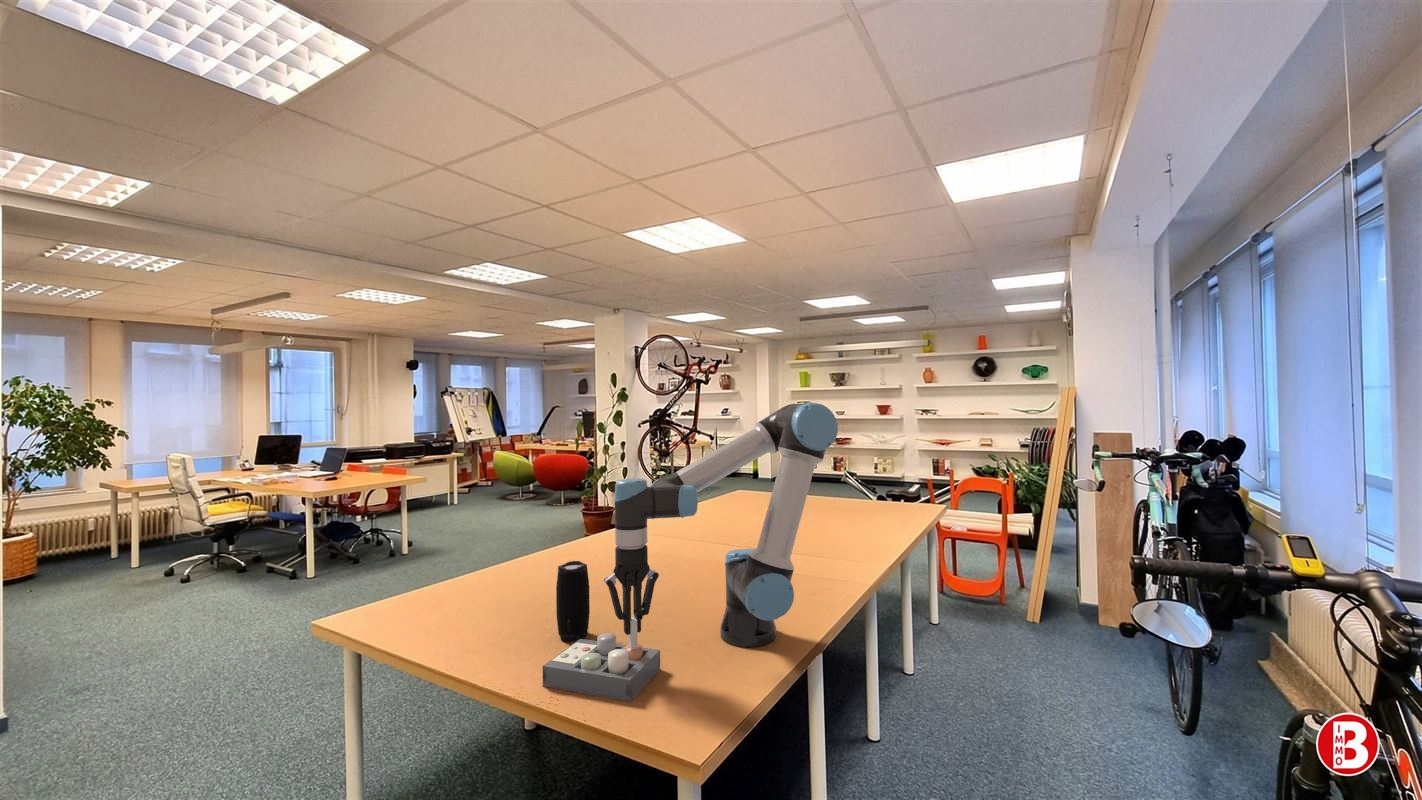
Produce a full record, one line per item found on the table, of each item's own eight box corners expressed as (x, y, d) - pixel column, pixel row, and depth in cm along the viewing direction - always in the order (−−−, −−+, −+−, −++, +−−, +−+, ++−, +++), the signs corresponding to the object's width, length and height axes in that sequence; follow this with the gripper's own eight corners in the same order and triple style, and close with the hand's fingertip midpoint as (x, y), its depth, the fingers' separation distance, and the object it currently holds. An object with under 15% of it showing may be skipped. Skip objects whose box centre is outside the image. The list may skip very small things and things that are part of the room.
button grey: (619, 653, 128) (619, 634, 128) (610, 661, 124) (610, 641, 124) (603, 651, 129) (603, 632, 129) (593, 659, 125) (593, 639, 125)
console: (660, 669, 126) (659, 648, 126) (630, 701, 112) (630, 678, 112) (580, 656, 133) (580, 637, 133) (542, 686, 119) (542, 664, 119)
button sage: (604, 674, 121) (604, 654, 121) (594, 683, 117) (594, 662, 117) (587, 671, 122) (587, 651, 123) (577, 680, 118) (576, 660, 118)
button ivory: (632, 670, 119) (631, 650, 119) (622, 680, 115) (622, 659, 115) (614, 668, 120) (614, 648, 120) (604, 677, 116) (604, 656, 116)
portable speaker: (569, 628, 152) (569, 559, 152) (596, 632, 148) (596, 562, 149) (549, 639, 144) (548, 567, 145) (577, 645, 140) (576, 570, 141)
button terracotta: (646, 664, 125) (645, 645, 125) (637, 673, 121) (637, 653, 121) (629, 661, 127) (629, 642, 127) (620, 670, 123) (620, 650, 123)
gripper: (652, 538, 131) (653, 635, 130) (600, 545, 125) (601, 646, 125) (663, 545, 124) (664, 647, 124) (608, 552, 119) (609, 659, 118)
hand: (632, 646), depth 124 cm, fingers closed
